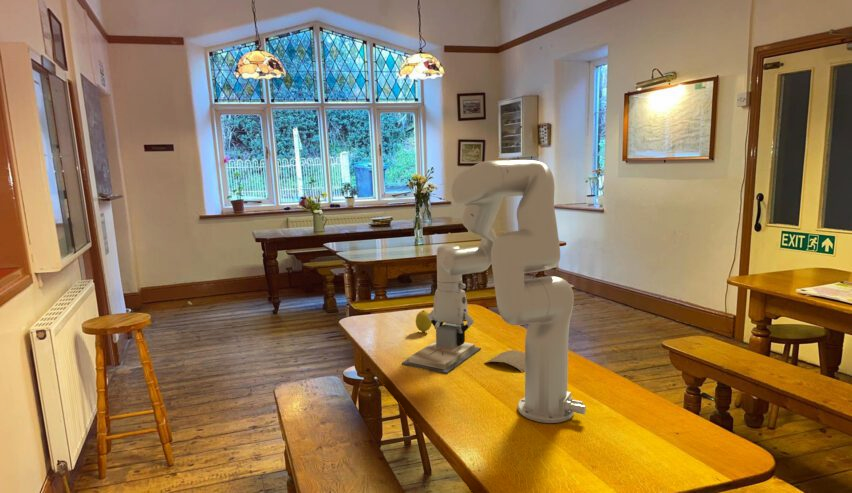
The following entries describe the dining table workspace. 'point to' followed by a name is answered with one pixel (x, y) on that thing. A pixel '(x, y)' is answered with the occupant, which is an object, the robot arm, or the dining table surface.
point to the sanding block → (447, 337)
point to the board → (441, 357)
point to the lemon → (423, 321)
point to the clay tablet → (512, 359)
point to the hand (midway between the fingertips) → (450, 342)
